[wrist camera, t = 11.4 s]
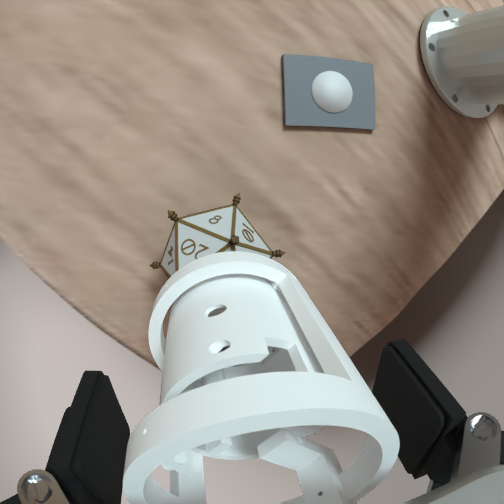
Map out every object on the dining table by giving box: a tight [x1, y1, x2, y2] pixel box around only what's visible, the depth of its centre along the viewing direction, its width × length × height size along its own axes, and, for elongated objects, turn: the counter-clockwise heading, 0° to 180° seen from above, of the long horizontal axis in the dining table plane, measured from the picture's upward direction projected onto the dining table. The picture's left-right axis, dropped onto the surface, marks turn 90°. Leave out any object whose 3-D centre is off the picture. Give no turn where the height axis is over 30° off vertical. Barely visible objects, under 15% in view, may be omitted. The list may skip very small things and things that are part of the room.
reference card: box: [282, 54, 375, 130], centre depth 24 cm, size 8×6×1 cm
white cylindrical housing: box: [123, 251, 400, 504], centre depth 12 cm, size 7×7×15 cm
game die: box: [150, 193, 286, 278], centre depth 23 cm, size 9×8×10 cm
